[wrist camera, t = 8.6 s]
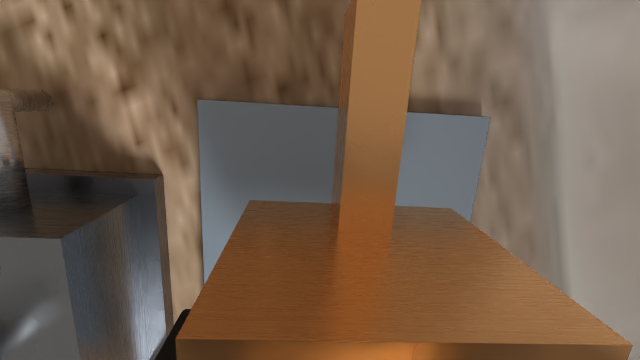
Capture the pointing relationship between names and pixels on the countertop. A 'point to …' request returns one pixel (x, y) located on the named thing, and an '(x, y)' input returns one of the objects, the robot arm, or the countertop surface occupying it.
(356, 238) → the wooden hollow block
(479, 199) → the countertop surface
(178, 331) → the robot arm
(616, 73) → the countertop surface
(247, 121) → the rubber pad
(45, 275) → the grey block
